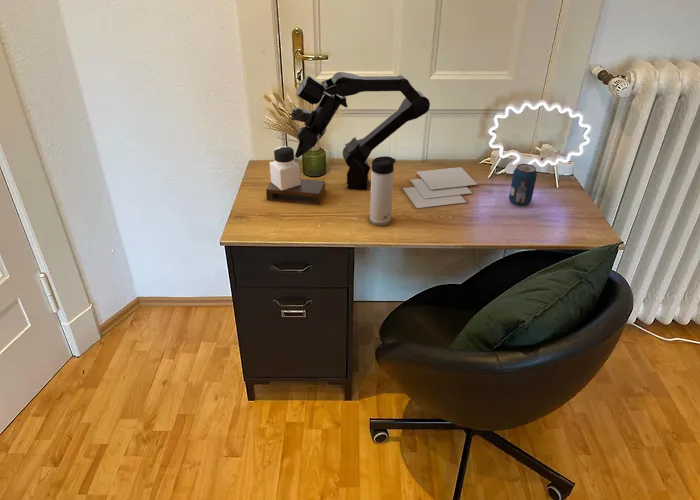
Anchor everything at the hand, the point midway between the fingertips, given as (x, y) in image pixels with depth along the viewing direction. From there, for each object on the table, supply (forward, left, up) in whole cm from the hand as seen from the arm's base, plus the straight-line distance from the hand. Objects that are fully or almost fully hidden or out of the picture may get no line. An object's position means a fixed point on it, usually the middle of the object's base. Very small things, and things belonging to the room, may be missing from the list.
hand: (299, 153), depth 170 cm
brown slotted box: (0, +4, -13) cm, 13 cm away
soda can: (-70, -4, -13) cm, 71 cm away
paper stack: (-45, -10, -13) cm, 48 cm away
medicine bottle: (+4, +4, -9) cm, 11 cm away
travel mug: (-28, +15, -13) cm, 35 cm away
